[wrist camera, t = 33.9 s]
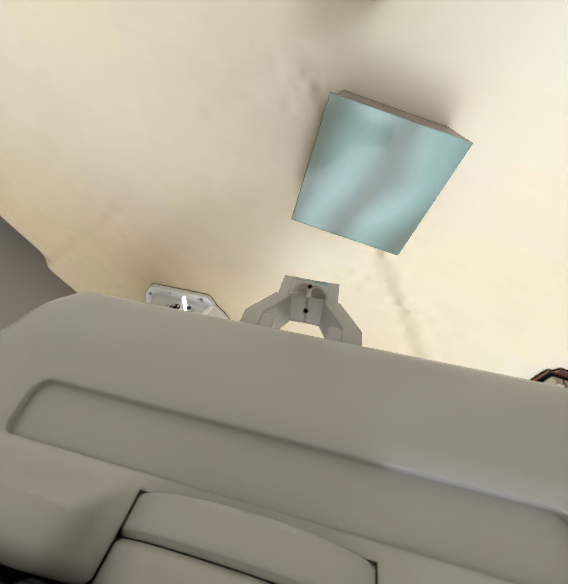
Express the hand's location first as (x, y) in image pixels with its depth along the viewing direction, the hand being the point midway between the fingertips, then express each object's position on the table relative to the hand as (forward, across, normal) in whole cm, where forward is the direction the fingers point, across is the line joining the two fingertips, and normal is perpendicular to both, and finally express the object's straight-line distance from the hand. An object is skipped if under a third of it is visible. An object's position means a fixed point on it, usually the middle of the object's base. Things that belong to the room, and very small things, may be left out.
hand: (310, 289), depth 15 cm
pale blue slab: (+22, -4, +1) cm, 22 cm away
